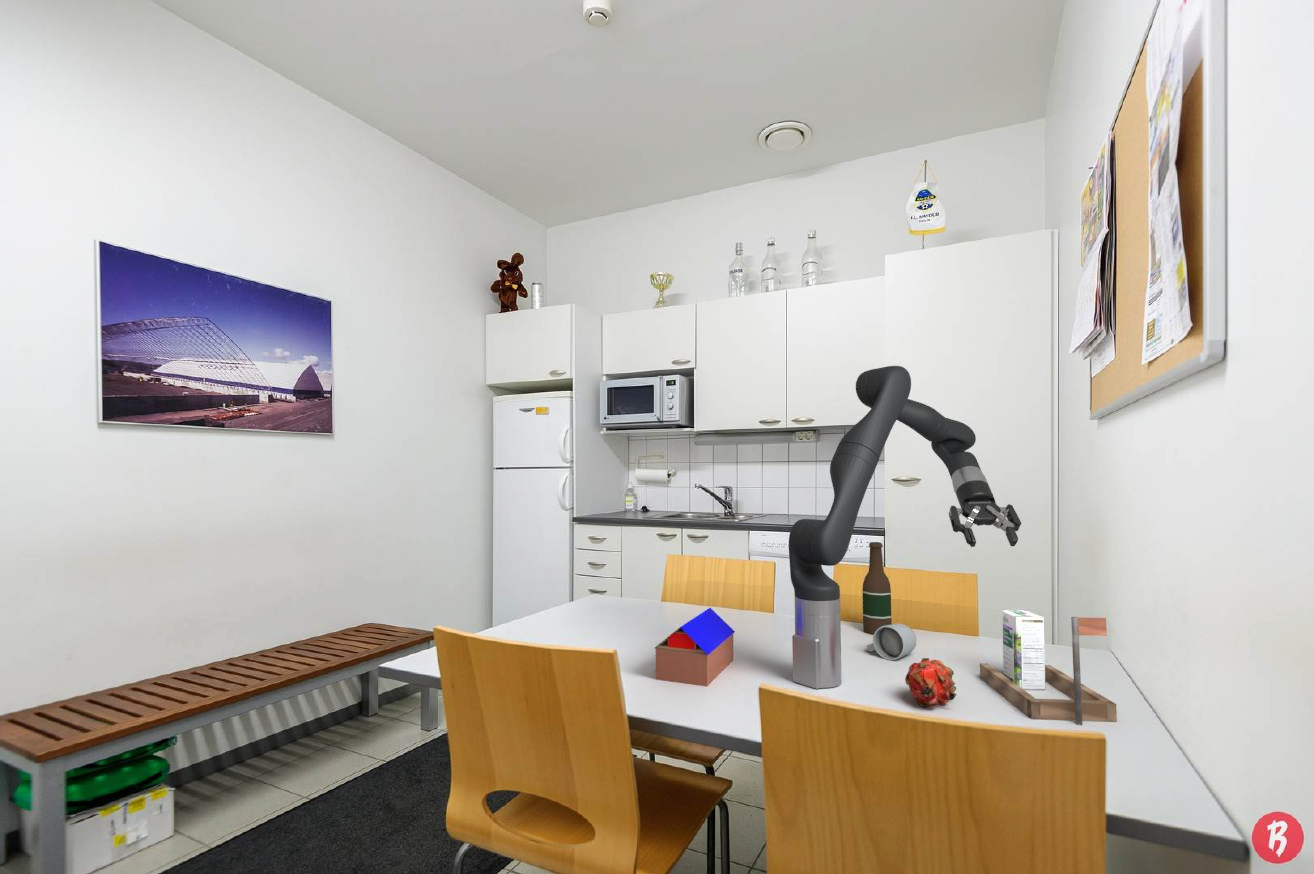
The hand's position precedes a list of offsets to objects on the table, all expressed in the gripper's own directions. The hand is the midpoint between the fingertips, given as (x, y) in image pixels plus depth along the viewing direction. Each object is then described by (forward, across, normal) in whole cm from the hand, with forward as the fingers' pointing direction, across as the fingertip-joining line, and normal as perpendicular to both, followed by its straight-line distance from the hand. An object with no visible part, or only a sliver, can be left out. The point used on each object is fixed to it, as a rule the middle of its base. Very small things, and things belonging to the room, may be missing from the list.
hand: (993, 544), depth 140 cm
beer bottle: (0, -20, +39) cm, 44 cm away
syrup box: (+28, 0, +10) cm, 29 cm away
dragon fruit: (+36, -22, +1) cm, 42 cm away
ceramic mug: (+15, -22, +23) cm, 35 cm away
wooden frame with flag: (+33, 0, +4) cm, 33 cm away
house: (+24, -67, +11) cm, 72 cm away
